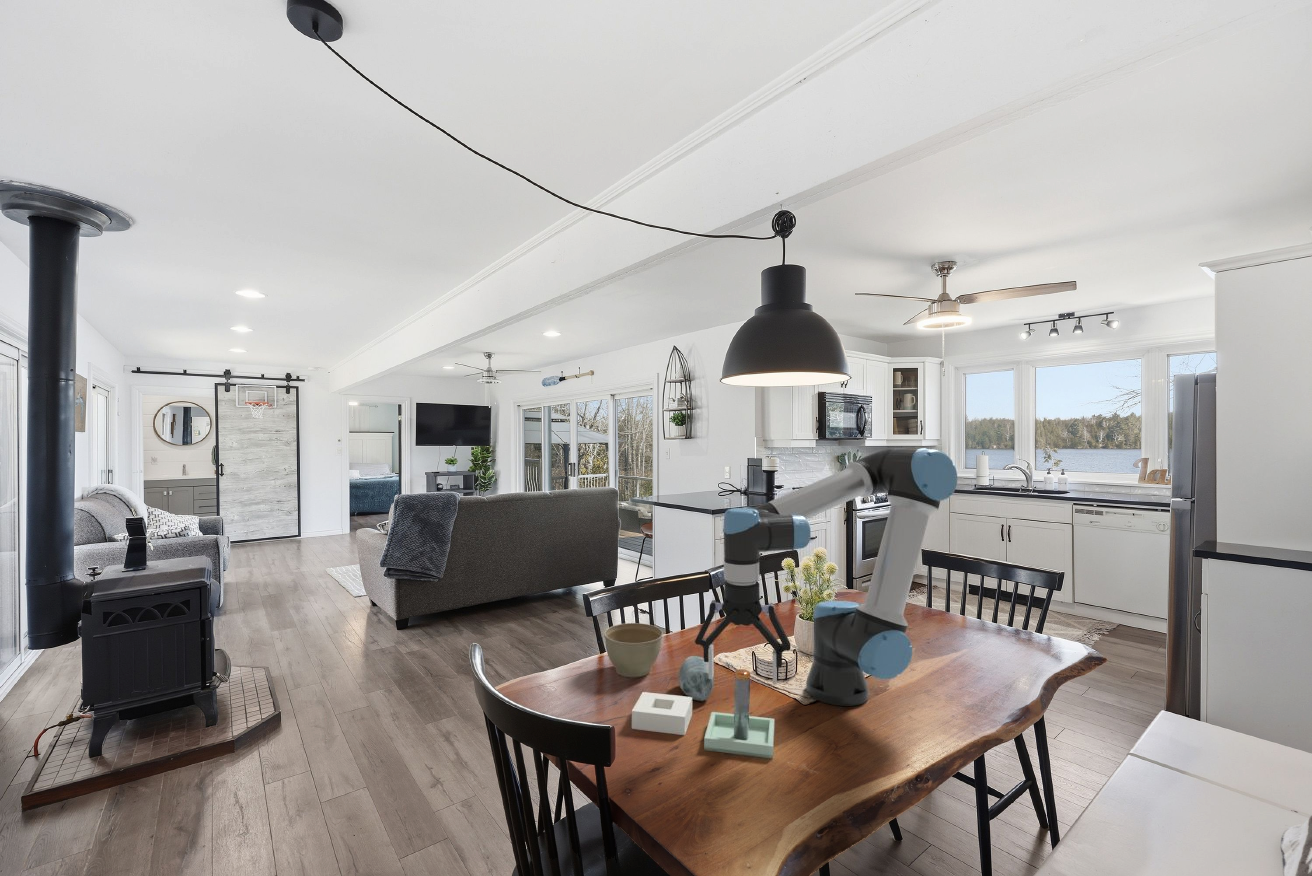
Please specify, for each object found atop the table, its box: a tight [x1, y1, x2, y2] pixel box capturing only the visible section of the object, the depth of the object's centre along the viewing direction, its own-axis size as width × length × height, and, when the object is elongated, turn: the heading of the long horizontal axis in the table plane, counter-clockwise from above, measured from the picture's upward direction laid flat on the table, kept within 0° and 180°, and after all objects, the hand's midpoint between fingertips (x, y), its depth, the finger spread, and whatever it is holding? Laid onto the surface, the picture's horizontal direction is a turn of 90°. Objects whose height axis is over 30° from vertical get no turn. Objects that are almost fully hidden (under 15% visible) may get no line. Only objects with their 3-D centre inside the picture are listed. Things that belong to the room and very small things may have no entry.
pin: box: [733, 668, 751, 740], centre depth 127 cm, size 3×3×14 cm
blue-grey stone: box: [677, 655, 715, 702], centre depth 151 cm, size 14×10×10 cm
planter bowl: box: [603, 622, 664, 678], centre depth 164 cm, size 16×16×11 cm
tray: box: [703, 711, 775, 760], centre depth 127 cm, size 14×12×2 cm
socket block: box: [631, 691, 693, 736], centre depth 135 cm, size 12×10×4 cm
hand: (742, 679), depth 128 cm, fingers open, 13 cm apart
